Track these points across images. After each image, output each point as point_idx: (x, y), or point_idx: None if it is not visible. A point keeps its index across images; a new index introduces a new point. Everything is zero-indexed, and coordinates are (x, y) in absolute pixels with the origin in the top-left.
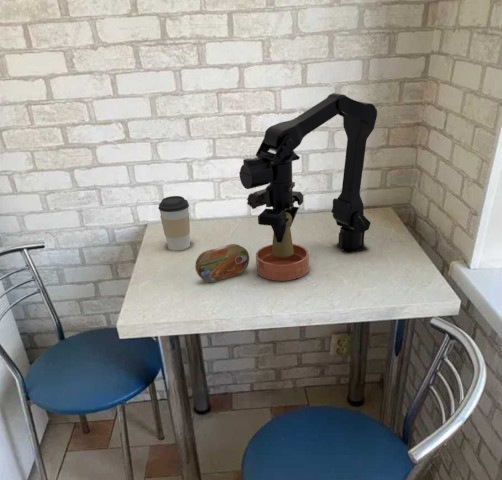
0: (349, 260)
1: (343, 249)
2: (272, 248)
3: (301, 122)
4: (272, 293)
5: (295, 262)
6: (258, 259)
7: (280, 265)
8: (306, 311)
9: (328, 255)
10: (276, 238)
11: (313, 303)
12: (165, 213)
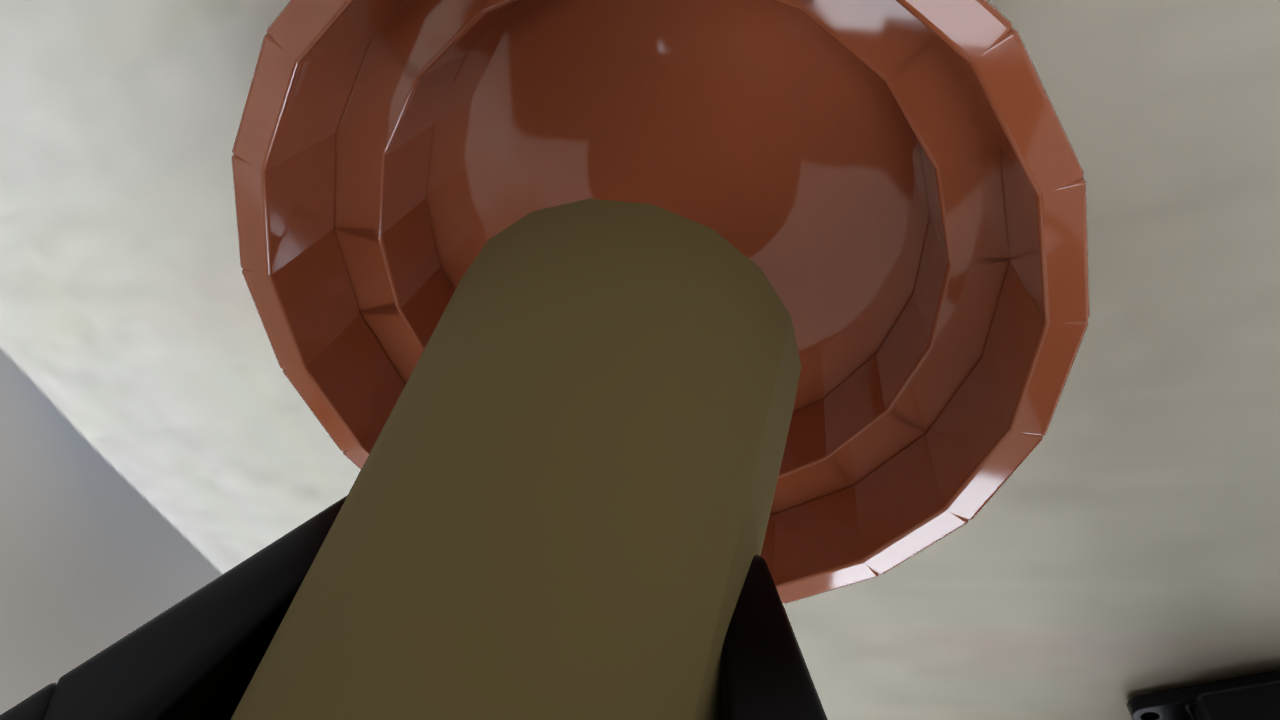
0: (965, 696)
1: (1197, 696)
2: (479, 285)
3: None
4: (190, 241)
5: None
6: (280, 23)
7: (292, 381)
8: (142, 488)
9: (1095, 586)
10: (282, 547)
11: (247, 515)
12: None
